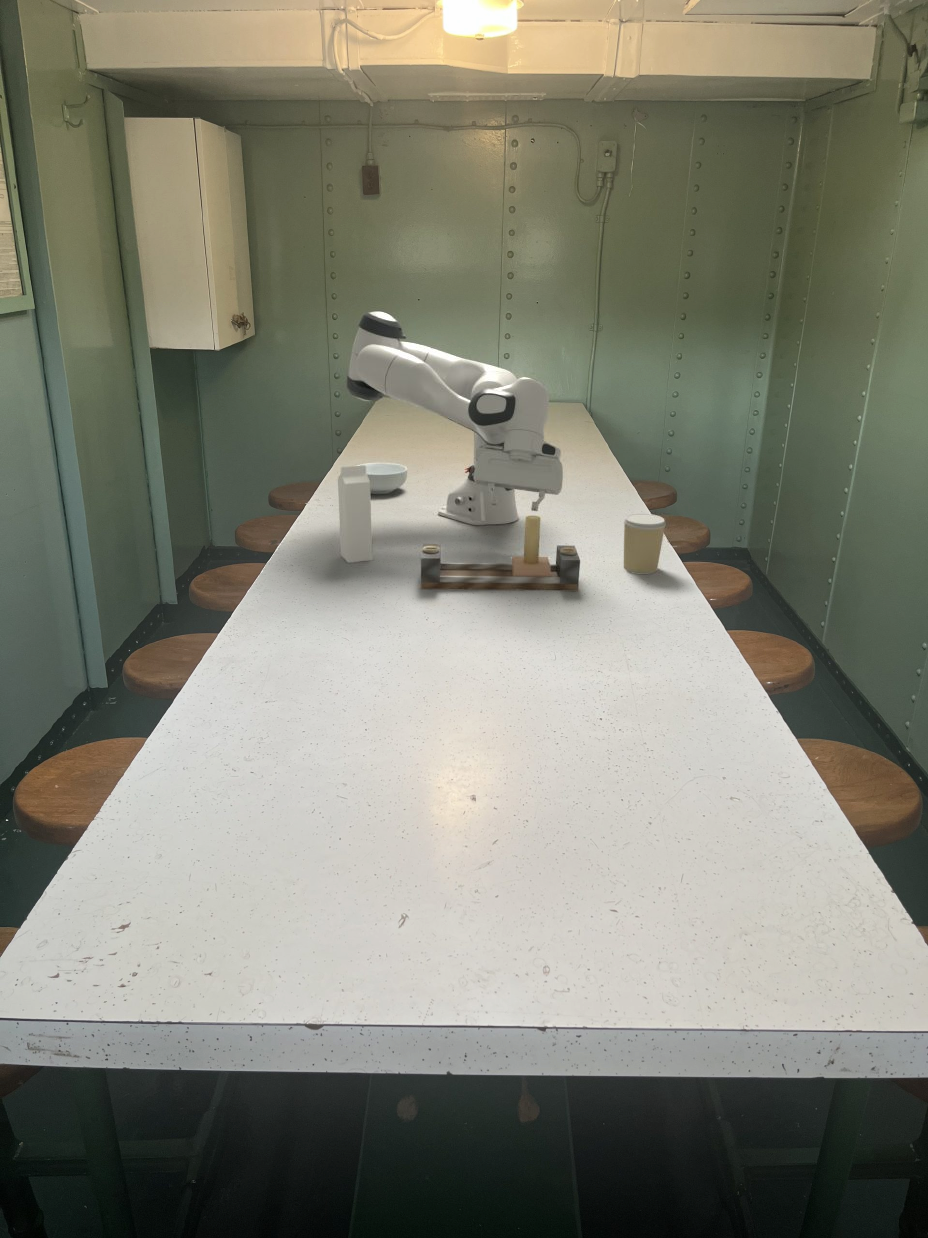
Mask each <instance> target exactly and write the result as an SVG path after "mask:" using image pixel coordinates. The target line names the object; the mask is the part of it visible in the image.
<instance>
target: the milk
mask: <svg viewBox="0 0 928 1238" xmlns="http://www.w3.org/2000/svg"><path fill="white" fill-rule="evenodd" d="M337 489H338V490H337V491H338V496H337V497H338V513H339V515H338V516H339V517H338V518H339V535H340V536H339V538H340V542H339V543H340V556H341V557H342V558H343V559H344V560H345V562H347V563H348V564H350V563H351V564H352V563H360V562H367V561H373V546H372V545H373V541H372V540H373V539H372V508H371V507H372V505H371V504H372V503H371V498H372V497H371V493H370V480H369V478H368V475H367V473H366V466H365V465H362V466H357V465H353V466H341V468H340V475H339V476H338V477H337Z"/></svg>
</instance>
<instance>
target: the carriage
mask: <svg viewBox="0 0 928 1238" xmlns="http://www.w3.org/2000/svg"><path fill="white" fill-rule="evenodd" d="M524 521H525V527H524V545H523V546H524V549H523V550H524V551H523V556H522V555H521V556H511V563H512V575H513V577H550V571H551V566H550V564H551V563H550V560H549V557H548V556H540V555H539V554H540V553H539V552H540V539H541V538H540V537H541V536H540V534H541V533H540V532H541V516H538V515H527V516H525V520H524Z"/></svg>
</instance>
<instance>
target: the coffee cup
mask: <svg viewBox="0 0 928 1238" xmlns="http://www.w3.org/2000/svg"><path fill="white" fill-rule="evenodd" d="M623 524H624V527H623V528H624V529H623V530H624V531H623V532H624V533H623V569H624V570H625V571H627V572H629V573H633V574H638V575H649V574H653V573H656V572H657V571H658V567H659V561H660V555H661V550H662V545H663V540H664V539H663V538H664V533H665V527H666V524H667V523H666V521H665V518H663V517H662V516H660V515H656V514H652V513H631V514H629V515H627V516H625V518H624V519H623Z"/></svg>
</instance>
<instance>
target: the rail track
mask: <svg viewBox="0 0 928 1238" xmlns="http://www.w3.org/2000/svg"><path fill="white" fill-rule="evenodd" d="M441 546H442V544H441V543H422V549H421V554H420V555H421V556H420V586H421V588H420V589H422V590H470V591H475V590H477V591H478V590H481V591H482V590H484V591H486V590H487V591H555V592H556V591H561V592H563V591H564V592H565V591H566V592H567V591H568V592H569V591H571V592H573V591H575V592H577V591H578V592H579V583H580V582H579V581H580V567H581V559H580V556H579V554H578V550H577V548H576V545H561V544H560V545H559V544H558V545H557V544H556V551H555V553H556V555H555V563H550V566H551V571H550V577H513V575H512V562H511V563H508V562H507V563H501V562H499V563H497V562H491V563H490V562H442V559H441V558H442V547H441Z"/></svg>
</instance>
